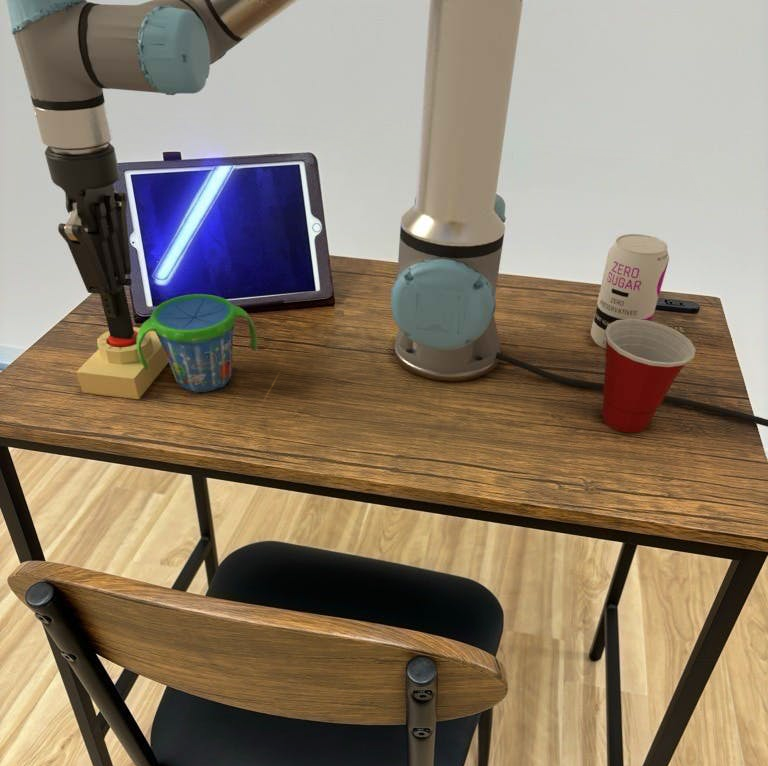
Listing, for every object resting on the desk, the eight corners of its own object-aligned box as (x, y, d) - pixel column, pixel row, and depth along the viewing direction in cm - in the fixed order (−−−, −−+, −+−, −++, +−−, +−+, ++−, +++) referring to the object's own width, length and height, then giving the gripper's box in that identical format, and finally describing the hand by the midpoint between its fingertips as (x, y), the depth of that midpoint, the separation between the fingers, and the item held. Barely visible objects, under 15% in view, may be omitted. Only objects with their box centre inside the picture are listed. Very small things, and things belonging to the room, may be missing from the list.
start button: (118, 339, 102) (116, 327, 101) (146, 342, 101) (143, 330, 100) (105, 353, 99) (102, 341, 98) (133, 356, 98) (131, 344, 97)
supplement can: (642, 331, 115) (668, 235, 105) (646, 357, 109) (675, 257, 99) (589, 325, 116) (610, 230, 106) (590, 351, 110) (613, 252, 100)
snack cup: (146, 408, 96) (131, 336, 89) (144, 367, 103) (129, 299, 96) (266, 393, 99) (260, 323, 92) (255, 355, 107) (248, 288, 100)
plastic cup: (673, 450, 91) (703, 365, 83) (584, 438, 93) (605, 353, 85) (666, 404, 99) (692, 322, 91) (584, 393, 101) (603, 312, 93)
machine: (125, 346, 108) (117, 314, 104) (177, 352, 107) (171, 320, 103) (82, 392, 98) (72, 359, 95) (138, 399, 97) (131, 366, 94)
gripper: (75, 127, 88) (117, 310, 104) (16, 158, 79) (72, 355, 94) (134, 132, 88) (168, 315, 103) (81, 164, 78) (127, 361, 93)
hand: (122, 334), depth 99 cm, fingers closed
